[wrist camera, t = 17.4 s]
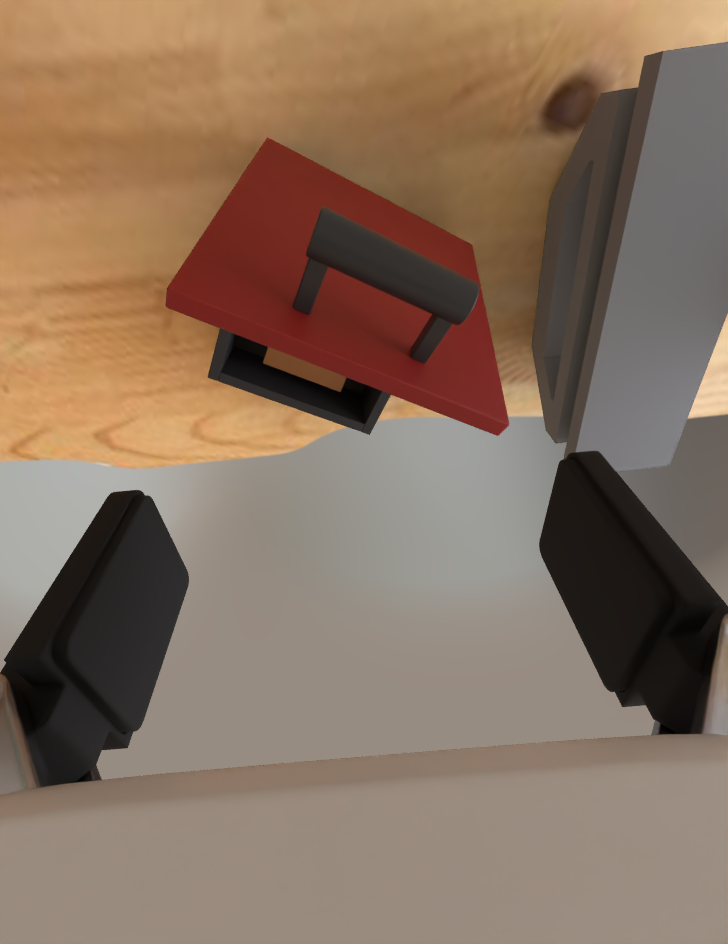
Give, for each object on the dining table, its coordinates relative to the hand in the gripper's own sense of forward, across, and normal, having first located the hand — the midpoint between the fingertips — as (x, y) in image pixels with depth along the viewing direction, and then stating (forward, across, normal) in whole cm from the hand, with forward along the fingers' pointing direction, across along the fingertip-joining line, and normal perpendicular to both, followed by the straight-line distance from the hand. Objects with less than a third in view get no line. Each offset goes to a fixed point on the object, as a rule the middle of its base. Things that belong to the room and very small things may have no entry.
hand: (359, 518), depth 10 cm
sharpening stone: (+31, -20, +3) cm, 37 cm away
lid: (+16, -1, -2) cm, 16 cm away
